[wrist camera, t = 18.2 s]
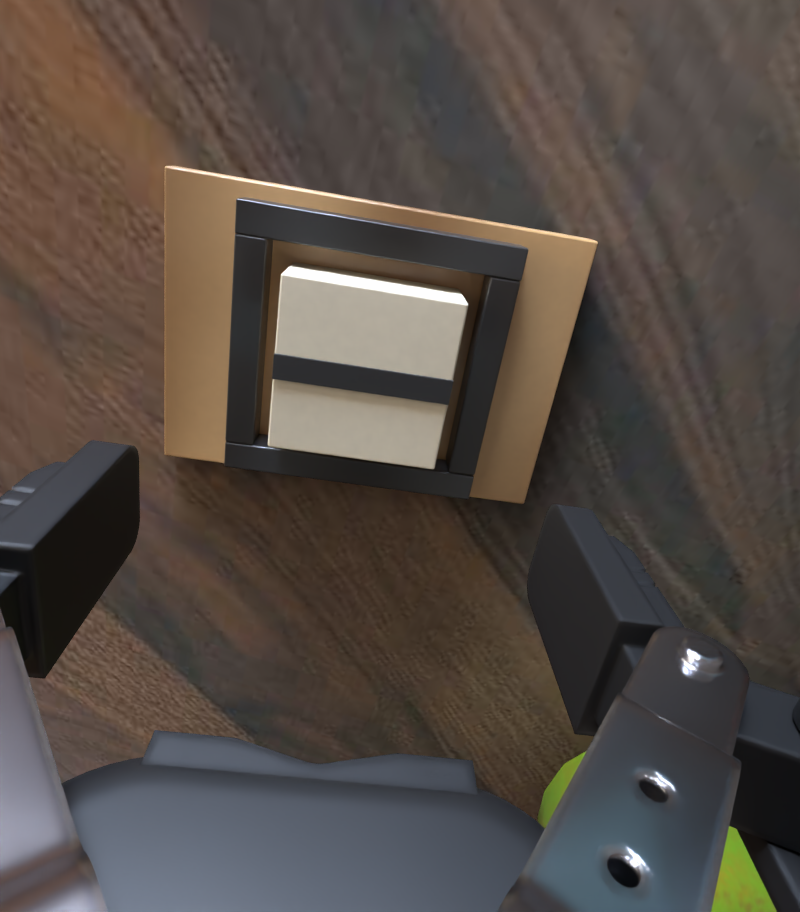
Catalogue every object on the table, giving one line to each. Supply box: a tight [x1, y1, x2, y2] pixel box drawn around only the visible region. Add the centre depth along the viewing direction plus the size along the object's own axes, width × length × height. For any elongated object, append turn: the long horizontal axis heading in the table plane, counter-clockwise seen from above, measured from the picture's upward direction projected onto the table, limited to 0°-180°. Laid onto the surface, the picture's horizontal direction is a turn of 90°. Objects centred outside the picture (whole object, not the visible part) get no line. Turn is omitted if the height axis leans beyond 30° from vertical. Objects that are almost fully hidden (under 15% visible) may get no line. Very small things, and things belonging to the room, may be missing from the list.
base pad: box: [165, 166, 598, 504], centre depth 21 cm, size 14×10×2 cm
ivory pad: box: [268, 262, 468, 469], centre depth 20 cm, size 6×6×3 cm
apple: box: [538, 752, 777, 912], centre depth 27 cm, size 12×12×11 cm
